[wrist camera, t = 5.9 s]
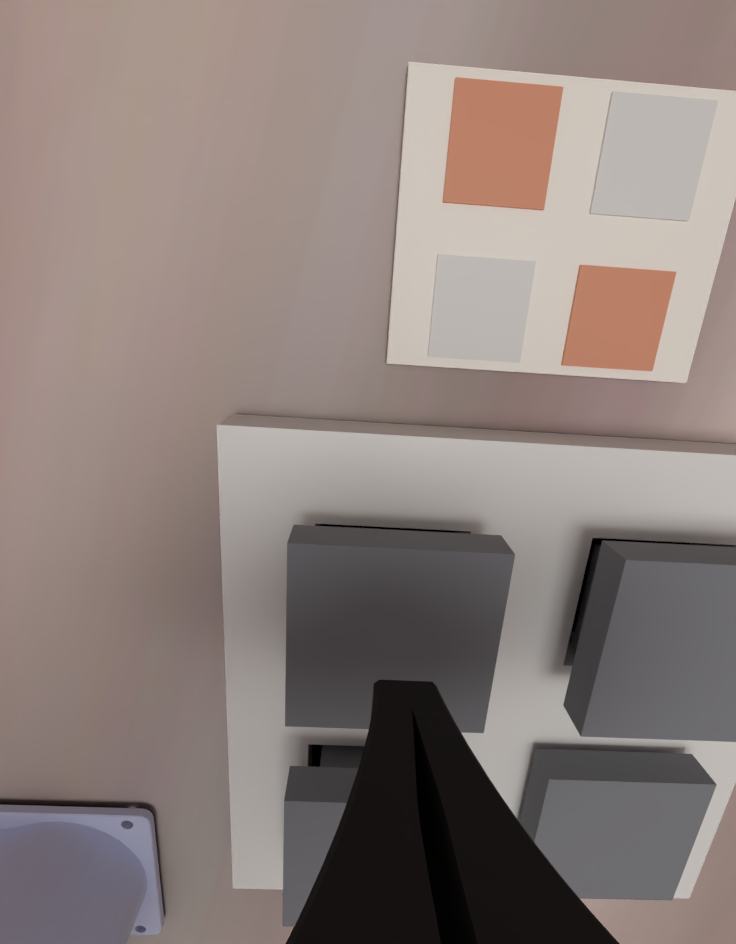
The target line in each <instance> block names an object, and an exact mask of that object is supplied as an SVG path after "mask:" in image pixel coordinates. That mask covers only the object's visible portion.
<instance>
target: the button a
mask: <svg viewBox="0 0 736 944" xmlns="http://www.w3.org/2000/svg"><path fill="white" fill-rule="evenodd" d="M363 750H364V746H343V745H322V751H321V762H320V767H309V766H290V768H289V774H288V780H287V786H286V792H285V798H284V844H283V926H295V924H296V922H297V920H298V918H299V916H300V914H301V911H302V909H303V907H304V905H305V903H306V901H307V898H308V896H309V894H310V892H311V890H312V887H313V885H314V883H315V881H316V878H317V876H318V874H319V872H320V869H321V867H322V865H323V863H324V860H325V858H326V855H327V853H328V850H329V848H330V846H331V843H332V841H333V838H334V836H335V833H336V831H337V828H338V826H339V823H340V820H341V818H342V815H343V812H344V810H345V807H346V804H347V801H348V798H349V795H350V792H351V789H352V786H353V783H354V780H355V777H356V774H357V771H358V768H359V765H360V761H361V757H362V754H363Z"/></svg>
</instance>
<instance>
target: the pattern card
mask: <svg viewBox="0 0 736 944" xmlns="http://www.w3.org/2000/svg"><path fill="white" fill-rule="evenodd" d="M735 198H736V91H730V90H719V89H707V88H696V87H685V86H674V85H663V84H652V83H640V82H629V81H618V80H607V79H596V78H585V77H574V76H562V75H551V74H540V73H529V72H518V71H507V70H495V69H484V68H473V67H462V66H451V65H440V64H428V63H417V62H409V64H408V72H407V85H406V99H405V113H404V126H403V140H402V154H401V167H400V181H399V195H398V208H397V222H396V235H395V249H394V263H393V276H392V290H391V304H390V317H389V331H388V345H387V358H386V363H387V364H402V365H418V366H433V367H448V368H464V369H479V370H495V371H510V372H526V373H541V374H557V375H572V376H587V377H603V378H618V379H634V380H649V381H665V382H680V383H686V382H687V378H688V375H689V371H690V367H691V363H692V360H693V356H694V352H695V348H696V345H697V341H698V337H699V333H700V330H701V326H702V322H703V318H704V315H705V311H706V307H707V303H708V300H709V296H710V292H711V288H712V285H713V281H714V277H715V273H716V270H717V266H718V262H719V258H720V255H721V251H722V247H723V243H724V240H725V236H726V232H727V228H728V225H729V221H730V217H731V213H732V210H733V206H734V202H735Z"/></svg>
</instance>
